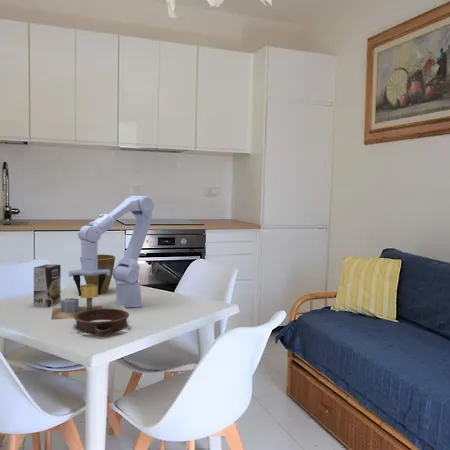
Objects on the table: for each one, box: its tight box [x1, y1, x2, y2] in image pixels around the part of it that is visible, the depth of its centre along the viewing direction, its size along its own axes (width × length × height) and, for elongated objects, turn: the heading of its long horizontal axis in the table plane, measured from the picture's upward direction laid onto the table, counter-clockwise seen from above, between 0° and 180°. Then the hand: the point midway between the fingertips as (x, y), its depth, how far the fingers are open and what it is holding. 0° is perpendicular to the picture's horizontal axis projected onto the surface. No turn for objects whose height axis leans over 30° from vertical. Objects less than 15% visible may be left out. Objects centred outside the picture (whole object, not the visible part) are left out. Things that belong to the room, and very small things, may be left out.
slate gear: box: [60, 297, 79, 313], centre depth 177 cm, size 6×6×4 cm
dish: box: [73, 308, 130, 337], centre depth 159 cm, size 17×22×5 cm
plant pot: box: [79, 253, 116, 295], centre depth 213 cm, size 15×15×16 cm
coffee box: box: [33, 264, 62, 309], centre depth 185 cm, size 9×6×16 cm
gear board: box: [50, 297, 104, 320], centre depth 175 cm, size 18×16×6 cm
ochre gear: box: [80, 283, 99, 299], centre depth 178 cm, size 6×6×4 cm
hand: (89, 295), depth 178 cm, fingers closed on ochre gear, 6 cm apart
